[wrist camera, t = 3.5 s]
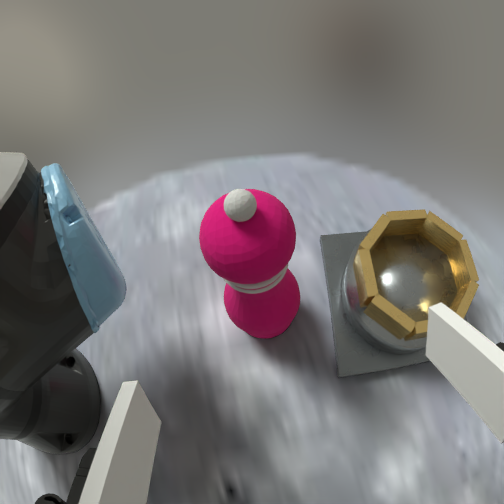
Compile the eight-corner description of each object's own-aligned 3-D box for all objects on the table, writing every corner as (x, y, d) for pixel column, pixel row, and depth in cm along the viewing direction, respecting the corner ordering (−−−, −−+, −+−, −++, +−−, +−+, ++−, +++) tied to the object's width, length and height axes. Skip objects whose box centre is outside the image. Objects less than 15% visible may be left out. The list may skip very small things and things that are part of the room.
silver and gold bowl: (337, 377, 29) (353, 368, 22) (319, 240, 37) (326, 198, 30) (467, 351, 28) (507, 333, 21) (436, 230, 36) (461, 192, 28)
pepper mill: (232, 281, 36) (179, 154, 18) (296, 278, 35) (301, 143, 17) (231, 344, 32) (162, 262, 15) (300, 341, 32) (316, 254, 14)
